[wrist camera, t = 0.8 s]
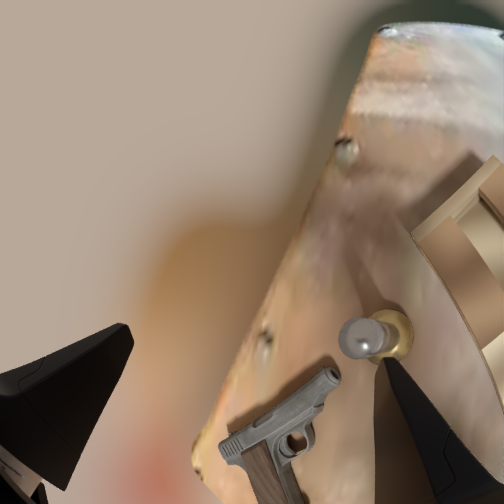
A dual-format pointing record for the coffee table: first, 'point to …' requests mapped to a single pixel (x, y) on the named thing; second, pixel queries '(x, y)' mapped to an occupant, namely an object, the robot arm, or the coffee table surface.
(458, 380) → the coffee table surface
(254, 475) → the handgun
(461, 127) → the coffee table surface
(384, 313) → the peg
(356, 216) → the coffee table surface
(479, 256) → the keyhole board
